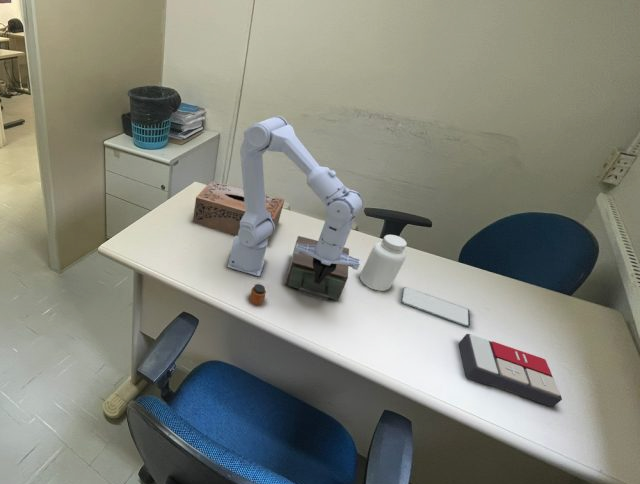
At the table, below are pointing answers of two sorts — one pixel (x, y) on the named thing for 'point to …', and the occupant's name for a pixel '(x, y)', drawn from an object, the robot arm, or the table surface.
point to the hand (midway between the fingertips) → (317, 281)
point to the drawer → (315, 284)
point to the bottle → (257, 294)
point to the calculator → (508, 369)
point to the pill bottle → (384, 263)
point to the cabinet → (307, 262)
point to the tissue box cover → (228, 207)
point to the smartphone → (436, 306)
